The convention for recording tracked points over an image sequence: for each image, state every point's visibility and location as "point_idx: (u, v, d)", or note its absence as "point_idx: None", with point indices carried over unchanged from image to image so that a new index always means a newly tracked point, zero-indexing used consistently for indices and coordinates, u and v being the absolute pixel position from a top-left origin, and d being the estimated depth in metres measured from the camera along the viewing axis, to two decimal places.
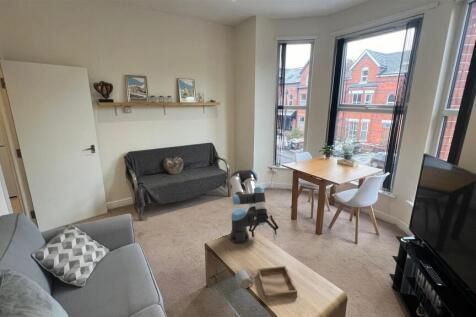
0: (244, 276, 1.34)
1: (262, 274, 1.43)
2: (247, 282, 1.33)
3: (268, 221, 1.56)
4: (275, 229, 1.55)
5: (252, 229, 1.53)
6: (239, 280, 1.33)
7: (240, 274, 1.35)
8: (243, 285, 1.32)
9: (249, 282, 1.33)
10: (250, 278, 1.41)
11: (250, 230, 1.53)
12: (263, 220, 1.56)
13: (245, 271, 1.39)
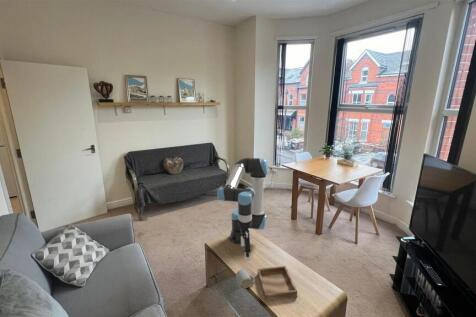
0: (245, 276, 1.34)
1: (262, 274, 1.43)
2: (248, 282, 1.33)
3: (243, 237, 1.26)
4: (245, 251, 1.23)
5: (241, 233, 1.38)
6: (240, 280, 1.33)
7: (241, 274, 1.35)
8: (244, 285, 1.32)
9: (250, 282, 1.34)
10: (251, 278, 1.41)
11: (240, 232, 1.39)
12: None
13: (246, 271, 1.39)
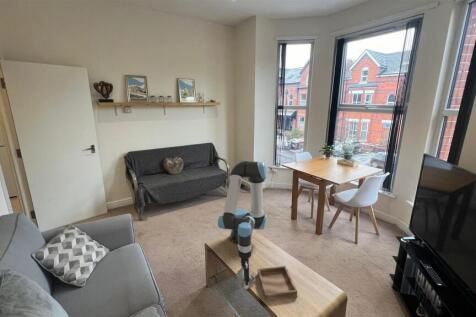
0: None
1: (262, 274, 1.43)
2: None
3: (242, 267, 1.31)
4: None
5: (241, 263, 1.41)
6: (240, 279, 1.34)
7: (241, 273, 1.36)
8: None
9: (250, 281, 1.34)
10: (251, 277, 1.41)
11: (241, 262, 1.42)
12: None
13: None
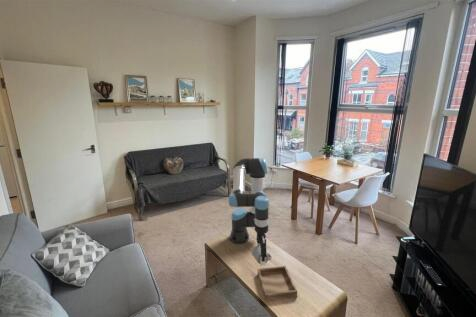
0: None
1: (262, 274, 1.43)
2: None
3: (259, 242, 1.26)
4: (261, 255, 1.25)
5: None
6: (256, 255, 1.29)
7: (257, 249, 1.31)
8: None
9: (267, 258, 1.29)
10: (267, 255, 1.36)
11: None
12: None
13: None
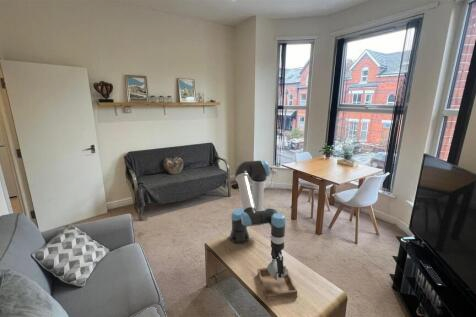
0: None
1: (262, 274, 1.43)
2: None
3: (275, 259, 1.28)
4: None
5: None
6: (272, 271, 1.31)
7: (273, 265, 1.33)
8: None
9: (283, 274, 1.31)
10: None
11: (271, 255, 1.39)
12: None
13: None
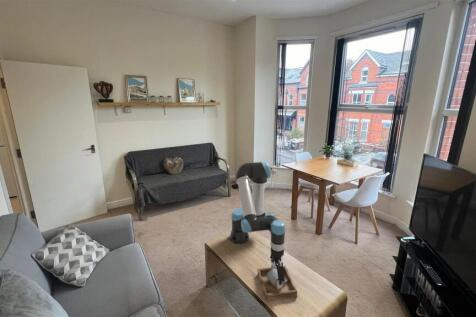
0: (277, 275, 1.32)
1: (262, 274, 1.43)
2: None
3: (275, 265, 1.28)
4: (278, 279, 1.26)
5: (271, 259, 1.40)
6: (272, 279, 1.32)
7: (273, 273, 1.34)
8: (276, 284, 1.31)
9: (282, 281, 1.32)
10: None
11: (270, 258, 1.42)
12: None
13: None
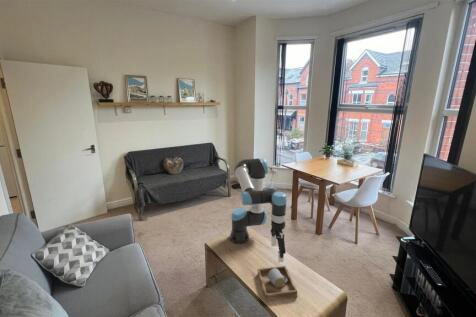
0: (278, 275, 1.33)
1: (262, 274, 1.43)
2: (281, 281, 1.32)
3: (276, 238, 1.24)
4: (279, 252, 1.21)
5: (272, 233, 1.36)
6: (273, 279, 1.32)
7: (273, 273, 1.34)
8: (277, 284, 1.31)
9: (283, 281, 1.32)
10: None
11: (271, 232, 1.37)
12: (276, 233, 1.27)
13: (278, 270, 1.37)
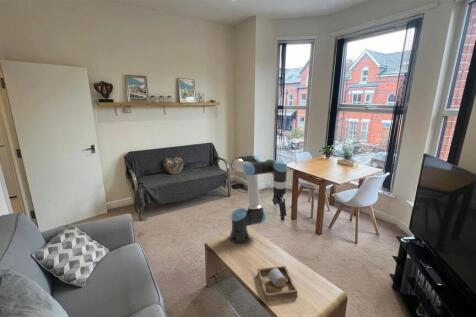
0: (278, 275, 1.33)
1: (262, 274, 1.43)
2: (281, 281, 1.32)
3: (278, 203, 1.35)
4: None
5: (274, 201, 1.48)
6: (273, 278, 1.32)
7: (274, 273, 1.34)
8: (277, 284, 1.31)
9: (283, 281, 1.32)
10: (283, 277, 1.39)
11: None
12: None
13: None
